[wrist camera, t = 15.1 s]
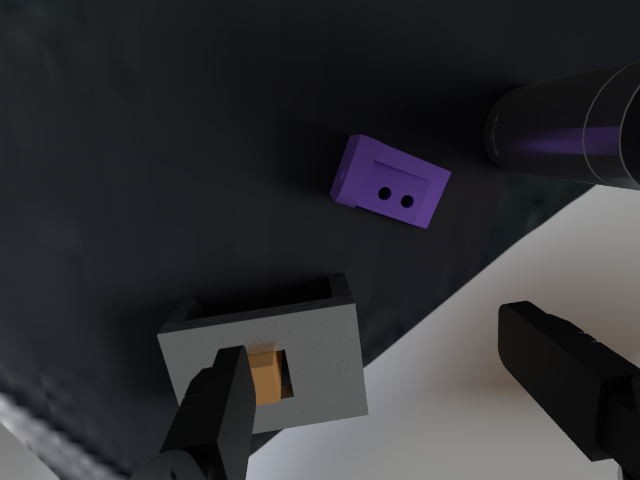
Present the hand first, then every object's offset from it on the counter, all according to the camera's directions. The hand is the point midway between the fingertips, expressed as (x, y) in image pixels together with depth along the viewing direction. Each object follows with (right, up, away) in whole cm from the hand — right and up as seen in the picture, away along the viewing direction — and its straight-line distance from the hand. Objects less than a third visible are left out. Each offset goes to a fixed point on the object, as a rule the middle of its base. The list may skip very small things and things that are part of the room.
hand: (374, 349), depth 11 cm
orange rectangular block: (-8, -8, +33) cm, 35 cm away
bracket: (+6, +10, +29) cm, 32 cm away
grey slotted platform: (-8, -9, +33) cm, 35 cm away
